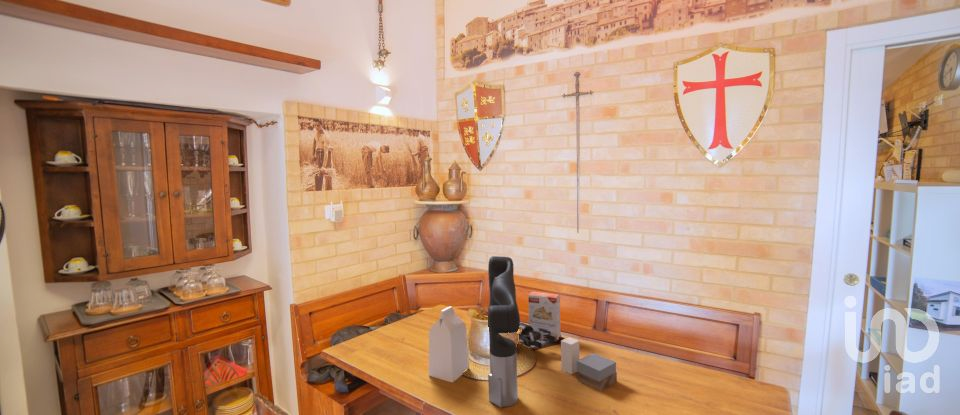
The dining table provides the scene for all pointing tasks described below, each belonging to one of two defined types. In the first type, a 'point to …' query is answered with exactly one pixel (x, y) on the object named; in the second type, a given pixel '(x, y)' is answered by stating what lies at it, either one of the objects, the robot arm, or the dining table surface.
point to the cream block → (569, 355)
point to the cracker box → (545, 312)
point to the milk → (448, 347)
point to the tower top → (596, 367)
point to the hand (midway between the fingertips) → (548, 342)
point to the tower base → (596, 384)
